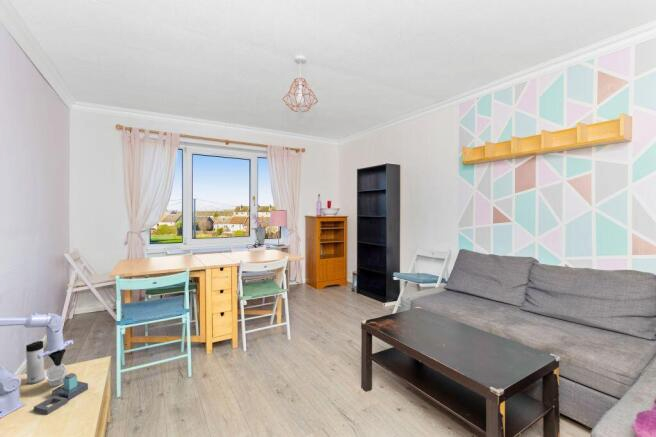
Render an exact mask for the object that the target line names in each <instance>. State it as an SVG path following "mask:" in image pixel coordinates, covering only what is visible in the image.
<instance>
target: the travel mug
mask: <svg viewBox="0 0 656 437" xmlns="http://www.w3.org/2000/svg"><path fill="white" fill-rule="evenodd" d="M25 350H26V351H25V352H26V353H25V354H26V356H25V357H26V382H27V383H26V384H27V385H36V384H38V383H41V382H43V380H45V377H44V373H45V357H43V359H38V358H37V355H38V354H40V353H42V352H43V351H45V350H44V341H43V340H39V341H34V342H32V343H29V344H27V345H26V348H25Z"/></svg>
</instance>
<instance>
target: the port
mask: <svg viewBox="0 0 656 437" xmlns="http://www.w3.org/2000/svg"><path fill="white" fill-rule="evenodd" d="M88 389H89V384H88V382H83V381H79V380H77V387H75V388H73V389H71V390H69V391H67V390H64V388H63V384H61V385H59V387H56V388H54V389H53V390H51V397H52V396H54V395H55V396H59V397H63V398H68V402H70V401H71V400H72V399H74V398H76V397H77V396H79V395H81V394H82V393H84V392H86V391H88Z"/></svg>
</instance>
